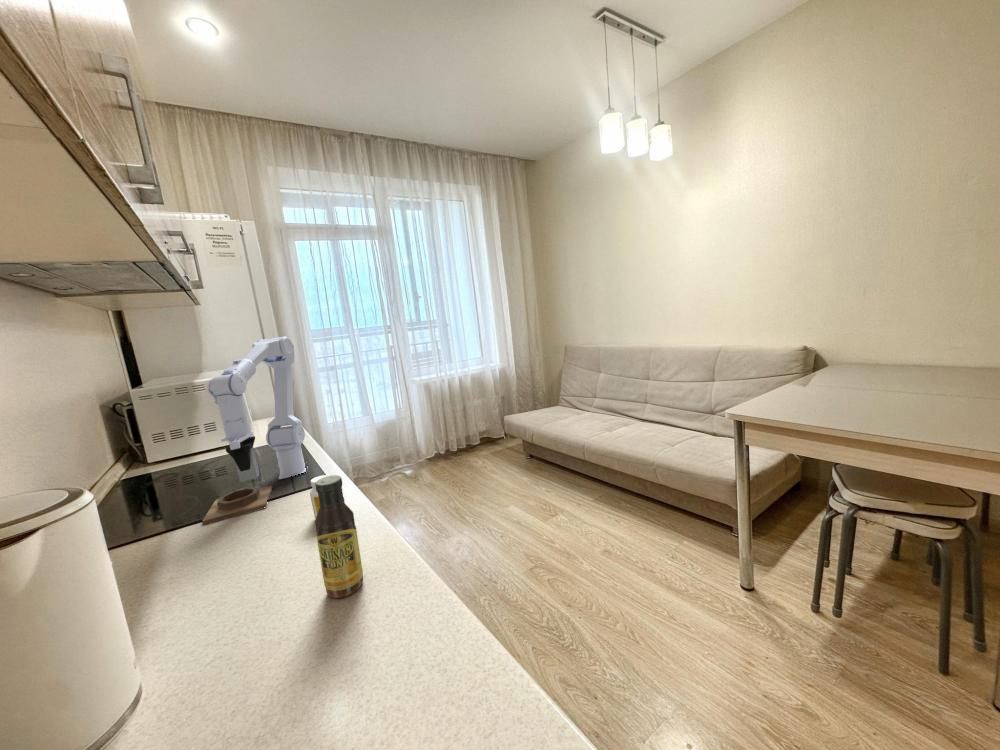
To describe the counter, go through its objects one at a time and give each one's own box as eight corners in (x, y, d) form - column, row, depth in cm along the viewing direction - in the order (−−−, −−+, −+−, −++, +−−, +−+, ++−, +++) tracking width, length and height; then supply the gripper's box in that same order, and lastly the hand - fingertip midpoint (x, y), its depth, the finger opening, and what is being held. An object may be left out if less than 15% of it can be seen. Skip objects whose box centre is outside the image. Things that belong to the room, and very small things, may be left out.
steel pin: (242, 477, 107) (235, 449, 106) (259, 473, 109) (252, 445, 107) (239, 482, 103) (232, 453, 102) (257, 477, 105) (250, 449, 104)
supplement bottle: (343, 512, 95) (336, 475, 94) (324, 523, 91) (316, 485, 89) (330, 508, 98) (323, 472, 97) (310, 519, 94) (302, 481, 92)
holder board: (217, 502, 111) (214, 492, 110) (272, 488, 116) (270, 478, 116) (202, 524, 98) (200, 513, 97) (266, 507, 103) (263, 497, 103)
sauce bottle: (323, 605, 64) (299, 492, 61) (329, 581, 70) (307, 477, 67) (365, 593, 65) (343, 483, 62) (367, 571, 71) (347, 469, 68)
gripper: (223, 417, 108) (234, 463, 110) (210, 428, 95) (223, 480, 97) (252, 411, 111) (263, 456, 113) (243, 422, 98) (255, 473, 100)
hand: (246, 467), depth 105 cm, fingers closed on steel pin, 4 cm apart
